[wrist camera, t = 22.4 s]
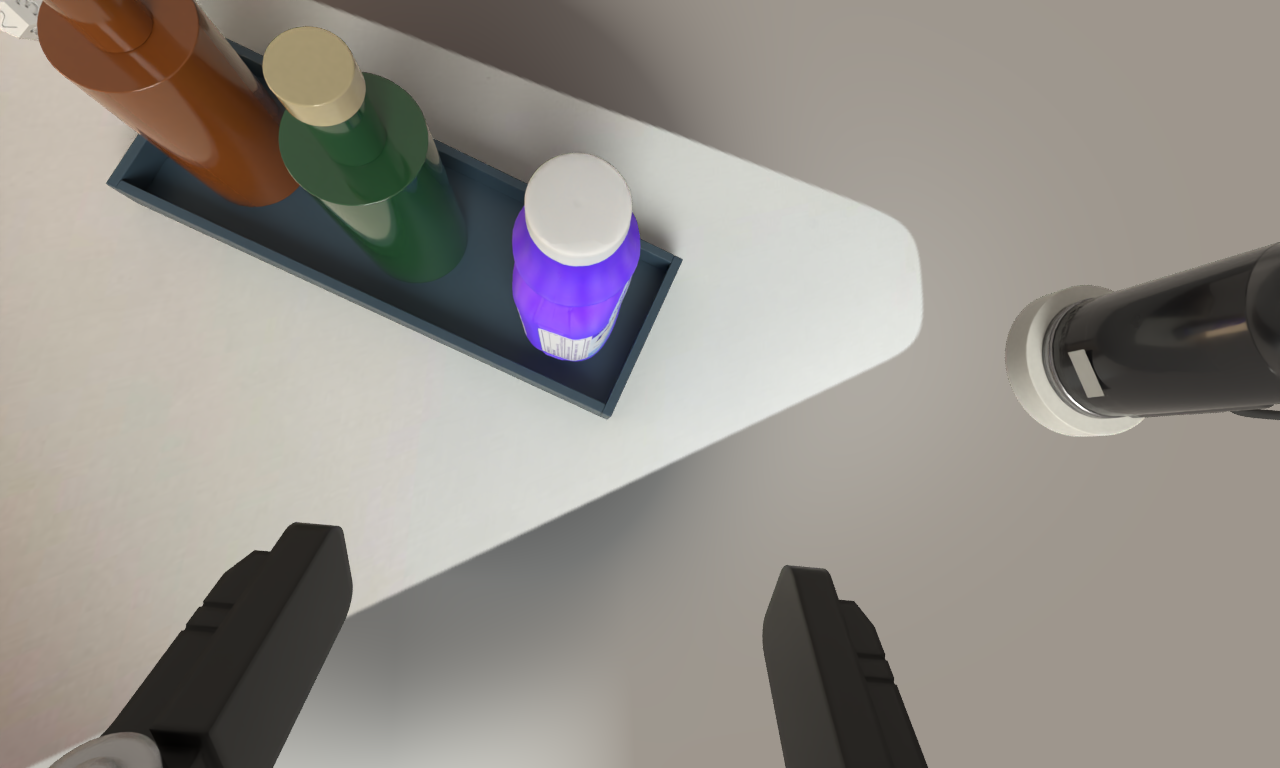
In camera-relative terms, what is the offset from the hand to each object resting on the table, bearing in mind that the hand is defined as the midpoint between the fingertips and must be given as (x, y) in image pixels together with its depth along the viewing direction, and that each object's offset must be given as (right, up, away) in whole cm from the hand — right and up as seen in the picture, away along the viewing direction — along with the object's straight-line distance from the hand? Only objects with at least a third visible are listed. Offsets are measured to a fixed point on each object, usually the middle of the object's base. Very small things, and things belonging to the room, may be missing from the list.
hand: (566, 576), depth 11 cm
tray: (-13, +13, +28) cm, 34 cm away
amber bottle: (-23, +18, +27) cm, 40 cm away
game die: (-37, +26, +27) cm, 53 cm away
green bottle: (-13, +13, +28) cm, 33 cm away
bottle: (-3, +8, +29) cm, 30 cm away
